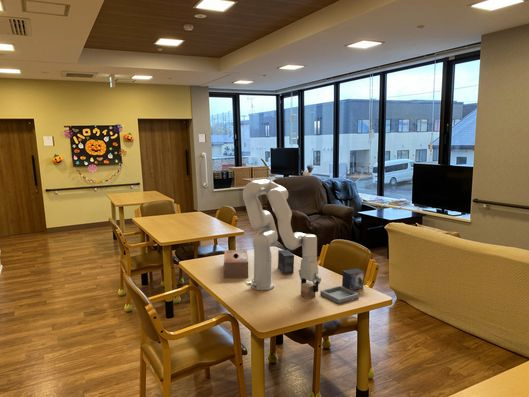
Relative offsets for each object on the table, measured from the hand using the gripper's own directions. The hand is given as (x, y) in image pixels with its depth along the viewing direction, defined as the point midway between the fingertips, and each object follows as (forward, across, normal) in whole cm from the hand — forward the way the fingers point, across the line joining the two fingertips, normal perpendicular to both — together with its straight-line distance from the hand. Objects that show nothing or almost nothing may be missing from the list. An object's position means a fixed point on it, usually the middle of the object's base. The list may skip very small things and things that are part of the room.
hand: (309, 289), depth 203 cm
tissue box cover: (+2, -55, -14) cm, 57 cm away
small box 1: (+3, -39, +13) cm, 41 cm away
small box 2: (+4, +5, +26) cm, 27 cm away
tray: (+4, +9, +13) cm, 16 cm away
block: (+4, -1, 0) cm, 4 cm away
